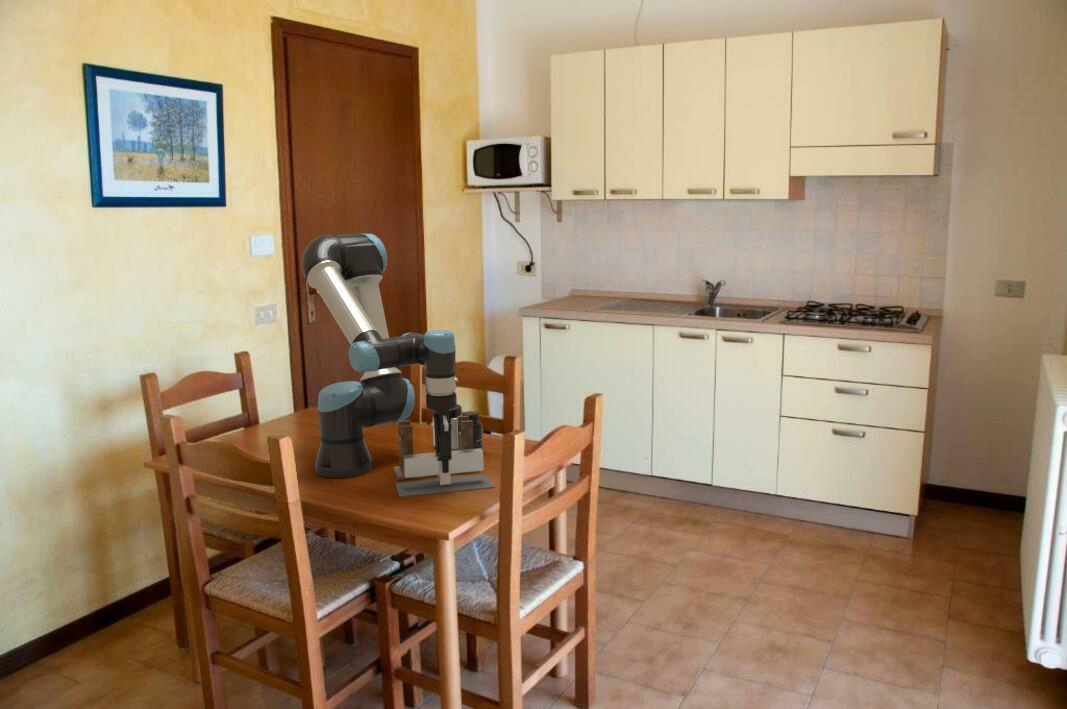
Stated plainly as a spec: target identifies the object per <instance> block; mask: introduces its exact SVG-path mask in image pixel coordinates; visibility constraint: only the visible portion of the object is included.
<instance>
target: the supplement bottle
mask: <svg viewBox="0 0 1067 709" xmlns="http://www.w3.org/2000/svg"><path fill="white" fill-rule="evenodd" d="M462 416H469V420H472V421H473V449H479V448H481V449H482V451H483V452H484V446H483V445H484V440H483V437H484V435H483V434H484V432H483V431H484V430H483V424H482V422H481V421H479V420H480V412H478V411H475V410H474V411H472V410H470V411H464V412H463V411H462Z"/></svg>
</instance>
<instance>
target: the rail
mask: <svg viewBox="0 0 1067 709" xmlns="http://www.w3.org/2000/svg"><path fill="white" fill-rule="evenodd" d="M451 456H452V459H451V460H450V472H451V473H462V472H472V471H480V472H481V471H484V470H485V469H484V468H485V467H484V450H483V451H482V449H481V448H479V449H468V450H458V449H456V450H451ZM437 458H440V452H436V451H435V452H427V453H426V452H425V453H424V452H423V453H415V454H414V453H413V454H412V455H403V461H404V475H405V478H410V477H420V476H431V475H440V474H439V461H437Z"/></svg>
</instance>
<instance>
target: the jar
mask: <svg viewBox="0 0 1067 709" xmlns="http://www.w3.org/2000/svg"><path fill="white" fill-rule="evenodd" d="M433 412H435V410H433ZM448 413H449V415H451V424H452V426H451V451H454V450H458V425H457V416H462V413H463V410H462V406H461V404H457V406H456V407H455V408H453V409H450V410H448ZM432 436H433V437H432V439H433V440H432V441H433V442H432V443H433V444H432V445H433V448H435V430H434V419H433V418H432Z"/></svg>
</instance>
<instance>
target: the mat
mask: <svg viewBox="0 0 1067 709" xmlns="http://www.w3.org/2000/svg"><path fill="white" fill-rule="evenodd" d="M394 485H395V488H396V492H397V494H398V497H399V498H405V497H406V498H407V497H416V496H424V495H437V494H445V493H455V492H465V491H474V490H477V491H478V490H486V489H494V488H495V486H494V484H493V483H492V481H491V480H490V478H489V477H488V475H487V474H486V473H484V474H474V475H465V476H456V477H452V476H451V484H445V485H440V480H438V479H437V478H434V479H433V478H432V479H424V480H423V479H422V480H412V481H400V482H394Z"/></svg>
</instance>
